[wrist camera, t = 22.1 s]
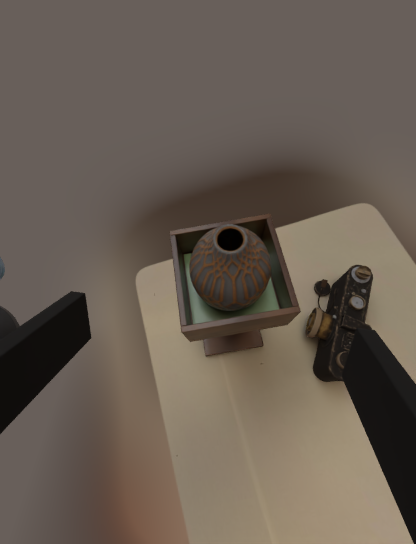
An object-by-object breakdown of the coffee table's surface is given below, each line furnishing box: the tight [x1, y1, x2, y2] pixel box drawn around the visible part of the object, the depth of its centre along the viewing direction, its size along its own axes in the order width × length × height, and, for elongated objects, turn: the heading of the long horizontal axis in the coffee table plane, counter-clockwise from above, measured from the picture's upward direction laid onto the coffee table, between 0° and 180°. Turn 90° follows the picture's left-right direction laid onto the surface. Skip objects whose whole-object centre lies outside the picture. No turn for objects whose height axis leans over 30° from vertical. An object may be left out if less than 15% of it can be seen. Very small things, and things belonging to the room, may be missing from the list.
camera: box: [306, 265, 373, 382], centre depth 38 cm, size 16×7×8 cm, turn 158°
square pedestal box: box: [170, 214, 301, 356], centre depth 32 cm, size 10×10×22 cm
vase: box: [189, 224, 271, 311], centre depth 22 cm, size 7×7×9 cm
